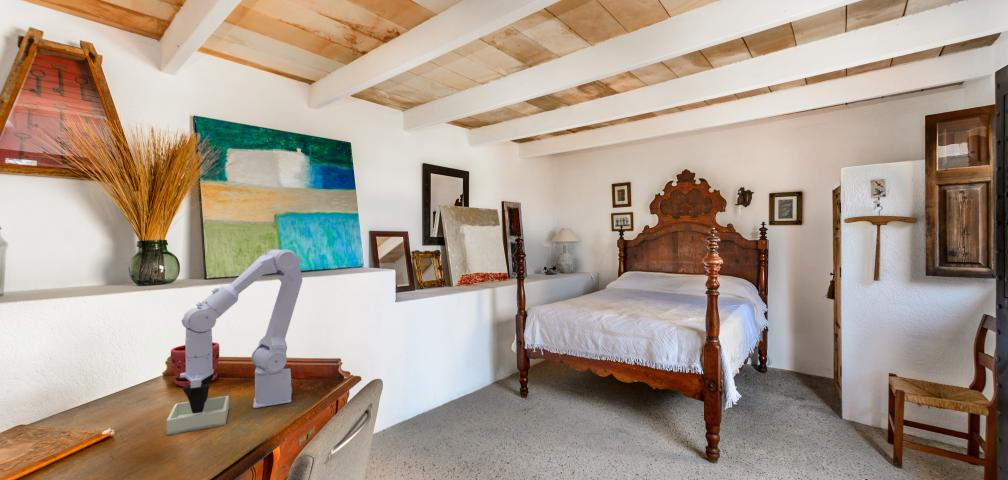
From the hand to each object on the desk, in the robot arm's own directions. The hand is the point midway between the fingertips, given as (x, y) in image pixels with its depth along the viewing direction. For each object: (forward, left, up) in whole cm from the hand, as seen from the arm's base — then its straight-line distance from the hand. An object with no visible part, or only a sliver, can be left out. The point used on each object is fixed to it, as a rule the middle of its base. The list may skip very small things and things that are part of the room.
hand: (199, 407), depth 115 cm
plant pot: (+5, -37, -4) cm, 38 cm away
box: (0, 0, -4) cm, 4 cm away
